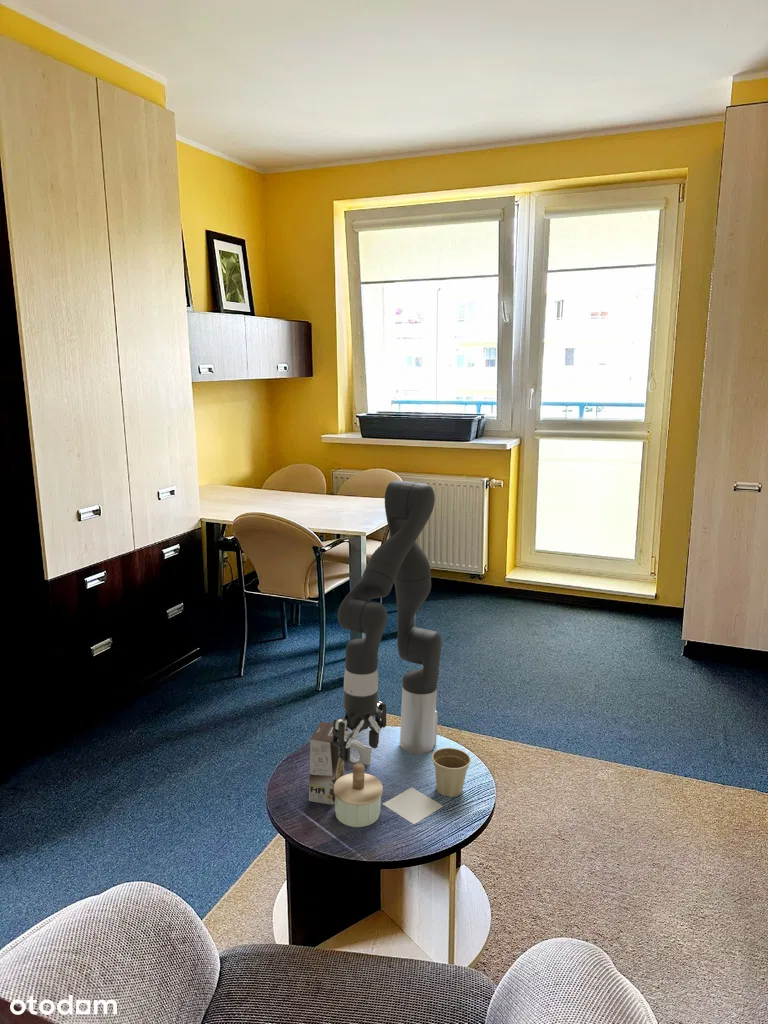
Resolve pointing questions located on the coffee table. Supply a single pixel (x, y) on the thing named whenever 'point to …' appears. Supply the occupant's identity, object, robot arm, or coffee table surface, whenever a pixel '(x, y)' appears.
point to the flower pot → (450, 770)
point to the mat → (412, 805)
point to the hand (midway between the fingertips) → (359, 753)
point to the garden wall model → (360, 753)
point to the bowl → (357, 813)
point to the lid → (358, 787)
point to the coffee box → (324, 765)
